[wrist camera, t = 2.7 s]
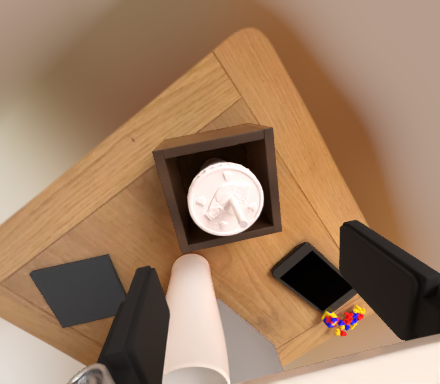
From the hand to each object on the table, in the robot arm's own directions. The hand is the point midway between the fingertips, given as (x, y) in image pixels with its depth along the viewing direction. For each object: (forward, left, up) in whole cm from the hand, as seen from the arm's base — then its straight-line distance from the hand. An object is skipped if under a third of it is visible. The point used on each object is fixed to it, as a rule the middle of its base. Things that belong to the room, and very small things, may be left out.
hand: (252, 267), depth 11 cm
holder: (0, 0, -17) cm, 17 cm away
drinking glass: (+13, -6, -18) cm, 23 cm away
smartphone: (+20, +12, -17) cm, 29 cm away
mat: (+13, -21, -17) cm, 30 cm away
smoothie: (0, 0, -18) cm, 18 cm away
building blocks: (+30, +17, -16) cm, 38 cm away
